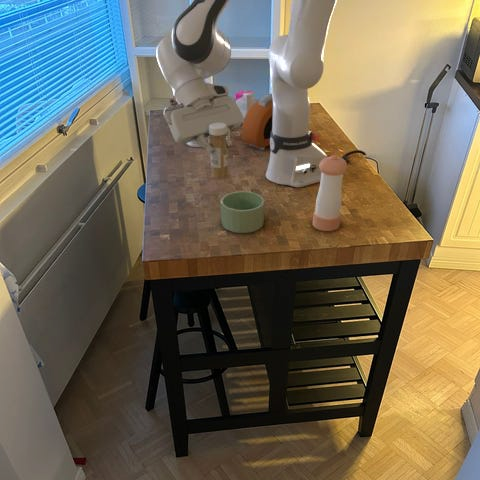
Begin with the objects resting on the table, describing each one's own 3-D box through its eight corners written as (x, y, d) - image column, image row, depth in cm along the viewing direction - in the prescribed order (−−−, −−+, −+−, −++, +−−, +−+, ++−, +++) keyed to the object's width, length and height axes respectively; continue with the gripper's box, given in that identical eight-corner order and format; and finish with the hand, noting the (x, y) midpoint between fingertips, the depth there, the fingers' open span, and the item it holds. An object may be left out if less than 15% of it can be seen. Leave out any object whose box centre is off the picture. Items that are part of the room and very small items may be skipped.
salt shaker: (307, 224, 129) (313, 155, 117) (323, 215, 133) (331, 147, 121) (328, 234, 126) (337, 163, 113) (344, 224, 129) (355, 155, 117)
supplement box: (254, 121, 196) (254, 91, 188) (247, 125, 192) (247, 95, 184) (242, 119, 198) (242, 89, 190) (235, 123, 194) (234, 93, 187)
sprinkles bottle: (231, 177, 125) (230, 125, 116) (217, 181, 123) (214, 129, 115) (222, 171, 128) (220, 120, 119) (208, 175, 126) (205, 124, 118)
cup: (254, 209, 136) (255, 188, 132) (270, 228, 128) (270, 206, 124) (216, 216, 133) (215, 195, 129) (229, 236, 125) (228, 214, 121)
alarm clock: (256, 153, 169) (257, 103, 158) (240, 146, 174) (240, 98, 164) (303, 138, 180) (306, 91, 169) (286, 132, 186) (289, 85, 175)
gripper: (164, 101, 112) (191, 153, 113) (231, 85, 122) (256, 133, 122) (156, 116, 118) (182, 166, 118) (222, 99, 128) (245, 146, 128)
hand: (220, 149), depth 121 cm, fingers closed on sprinkles bottle, 4 cm apart
